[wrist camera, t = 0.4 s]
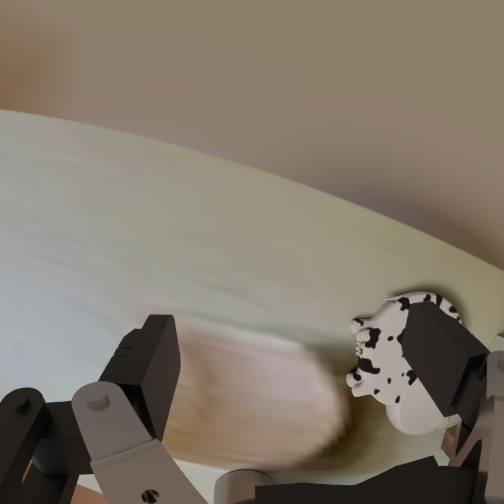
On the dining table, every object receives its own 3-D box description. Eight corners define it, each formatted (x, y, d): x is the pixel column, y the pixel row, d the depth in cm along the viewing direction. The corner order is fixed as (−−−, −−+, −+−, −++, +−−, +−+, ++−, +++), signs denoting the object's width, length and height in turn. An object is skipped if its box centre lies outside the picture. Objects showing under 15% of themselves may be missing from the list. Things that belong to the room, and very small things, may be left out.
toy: (335, 441, 39) (450, 418, 38) (343, 458, 34) (465, 429, 34) (344, 292, 39) (466, 285, 39) (355, 296, 35) (485, 286, 34)
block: (459, 439, 41) (490, 471, 30) (440, 447, 40) (470, 483, 29) (465, 421, 40) (498, 452, 29) (445, 429, 40) (478, 464, 29)
